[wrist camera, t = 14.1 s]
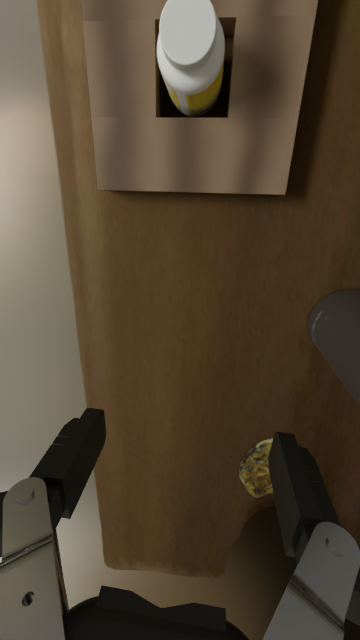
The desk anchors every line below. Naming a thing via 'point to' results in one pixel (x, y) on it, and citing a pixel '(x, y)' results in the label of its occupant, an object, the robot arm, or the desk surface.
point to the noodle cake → (257, 469)
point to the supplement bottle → (191, 54)
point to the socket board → (196, 133)
